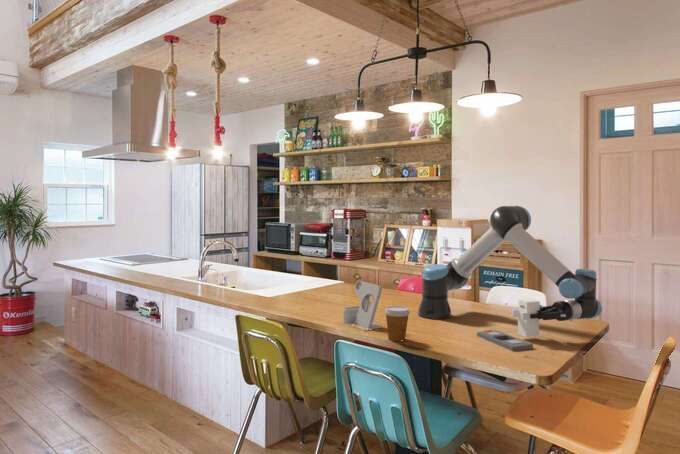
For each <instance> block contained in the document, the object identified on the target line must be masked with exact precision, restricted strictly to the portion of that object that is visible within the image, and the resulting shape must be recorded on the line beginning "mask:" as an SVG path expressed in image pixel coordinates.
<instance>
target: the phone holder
mask: <svg viewBox="0 0 680 454" xmlns="http://www.w3.org/2000/svg"><path fill="white" fill-rule="evenodd" d="M353 289H354V292H355V293H356V295H357V297H358V299H359V301H360V303H359V306H358V305H357V306H356V305H355V306H349V307H344V308H343V311H342V312H343V313H342V315H343V317H342V321H341V323H342V322H343V323H346V324H349V325H352V324H355V325H358V326H361V327H364V328H367V329H363V328H361V327H358V326H355V325H352V326H355V327H357V328H360V329H363V330H370V329H376V330H378V329H377V328H381V329H383V325H381V324H378V323H375V322H374V319H375V315H376V312H377V309H378V305H379V301H380V298H381V294H382V291H383V288H382V286H381V285H378V284H376V283H370V282H367V281H362V280H357V281H356V282H355V285H354V288H353ZM371 297H372V298H373V299H372V301H371V302H370V299H371ZM343 323H342V324H343ZM346 324H345V325H346ZM349 325H348V326H349ZM357 328H356V329H357ZM360 329H359V330H360Z"/></svg>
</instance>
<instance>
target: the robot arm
mask: <svg viewBox="0 0 680 454" xmlns="http://www.w3.org/2000/svg"><path fill="white" fill-rule="evenodd" d="M489 219H490V220H489V222H490V226H491V227H489V229H487V230H486V231H485V233H483V235H481V236H480V237H479V238H478V239H477V240H475V242H474V243H473V244H471V246H470V247H469V248H467V250H465V252H463V254H461V256H459V257H458V258H452V260H451V261H449V262H448V263H447V264H441V263H436V264H427V265H426V266H424V267H423V270H422V275H421V276H422V277H421V278H422V287H421V289H422V294H421V295H422V297H421V301H420V304H419V307H418V309H417V314H418V316H420V317H422V318H425V319H430V320H431V319H433V320H444V319H449V318H451V317H452V310H451V306H450V304H449V299H448V297H449V296H448V294H449V292H450V291H453V290H458V289H462V288H463V287H465V285H467V283H468V282H469V279H470V278H471V276H472V272H473V271H474V269H476V268H477V267H478V266H479V265H481V264H482V262H484V261H485V260H486V259H487V258H488V257H490V255H491V254H493V253H494V252H495V251H496V250H497V249H498V248H499V247H500V246H501V245H502V244H503V243H504V242H509V243H510V244H511V245H513V246H514V248H516V249H517V250H518V251H519V252H520V253H521V254H522V255H523V256H525V258H526V259H528V260H529V261H530V262H531V263H532V264H533V265H534V266H535V267H536V268H537V270H540V271H541V272H542V273H543V275H545V276H546V277H547V278H548V279H549V280H550V281H551V282H552V283H553V284H555V285H556V286H557V287H558V292H559V294H560V296H562V297H563V298H565V299H567V300H558V301H554V303H552V305H547V306H543V305H541V304H540V310H538V314H537V312H536V311H534V312H523V313H521V320H532V319H537V318H538V319H539V320H543V321H552V320H556V321H559V322H563V321H564V322H565V321H570V322H573V320H584V319H586V320H587V319H593V318H597V317H599V316H600V315H601V314H602V312H603V306H602V305H601V302H600V301H599V300H598V299H597V297H596V296H597V271H595V270H594V269H588V268H587V269H586V268H585V269H584V268H577V269H576V270H575V273H573V272H572V271H571V270H570V269H569V268H568V267H567V266H566V265H565V264H563V263H562V262H561V261H560V260H559V259H557V257H555V255H553V254H552V253H551V251H549V250H548V249H546V248H545V247H544V246H543V245H542V244H541V243H540V242H539V241H538V240H537V239H535V238H534V236H532V235H531V234H530V233H529V232H528V231H527V230H528V229H529V228H530V227H531V223H532V216H531V214H530V212H529V211H528V210H527V209H526V208H525V207H523V206H520V205H501V206H499V207H497V208H495V209H494V210H493V211H492V213H491V215H490V218H489ZM569 299H570V300H569ZM511 318H518V308H517V309H511Z"/></svg>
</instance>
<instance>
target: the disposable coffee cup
mask: <svg viewBox="0 0 680 454" xmlns="http://www.w3.org/2000/svg"><path fill="white" fill-rule="evenodd" d="M410 312H411V311H410V309H409V308H408V307H406V306H399V305H394V306H393V305H392V306H386V308H385V310H384V313H385V317H386V328H387V335H388V336H387V337H388V340H389V341H392V342H396V341H400V342H402V341H401V340H404V339H405V340H406V334H407V328H408V327H407V326H408V321H409V315H410ZM405 340H404V341H405Z"/></svg>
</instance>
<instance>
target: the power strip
mask: <svg viewBox="0 0 680 454" xmlns="http://www.w3.org/2000/svg"><path fill="white" fill-rule="evenodd" d="M476 337H478V338H481V339H483V340H485V341H488V342H490V343H492V344H494V345H497V346H499V347H502V348H504V349H506V350H509V351H511V352H515V351H523V350H532V349H533V348H534V344H533V343H531V342H528V341H525V340H523V339H520V338H517V337H516V336H512V335H510V334H507V333H505V332H504V331H503V332H502V331H500V330H497V329H495V330H492V329H490V328H488V329H484V331H483V330H482V331H476Z"/></svg>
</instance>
